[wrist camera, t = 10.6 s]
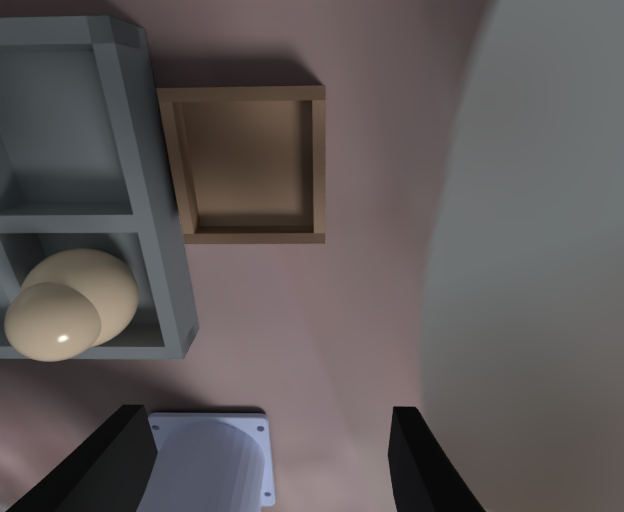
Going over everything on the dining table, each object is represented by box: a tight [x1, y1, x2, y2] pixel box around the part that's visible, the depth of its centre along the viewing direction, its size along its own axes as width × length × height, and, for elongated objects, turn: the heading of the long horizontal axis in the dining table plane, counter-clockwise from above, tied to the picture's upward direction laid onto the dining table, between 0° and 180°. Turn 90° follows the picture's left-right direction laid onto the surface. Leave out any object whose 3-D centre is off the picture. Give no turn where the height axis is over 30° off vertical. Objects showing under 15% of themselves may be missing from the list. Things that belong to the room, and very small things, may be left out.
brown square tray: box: [156, 85, 325, 244], centre depth 15 cm, size 6×6×2 cm
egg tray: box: [0, 15, 199, 359], centre depth 16 cm, size 15×15×3 cm
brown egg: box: [4, 248, 139, 362], centre depth 15 cm, size 5×5×6 cm
